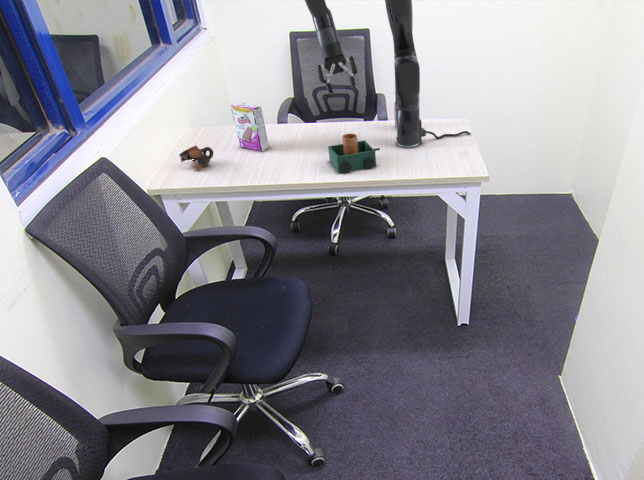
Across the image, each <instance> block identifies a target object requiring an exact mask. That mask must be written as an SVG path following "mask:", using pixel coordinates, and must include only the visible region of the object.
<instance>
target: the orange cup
mask: <svg viewBox="0 0 644 480" xmlns="http://www.w3.org/2000/svg"><path fill="white" fill-rule="evenodd" d="M341 141H342V144H343V150H344V155H348V154H354V153H359V151H358V141H359V139H358V135H357V134H356V133H344V134H343V135H342V136H341Z"/></svg>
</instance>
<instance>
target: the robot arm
mask: <svg viewBox="0 0 644 480" xmlns="http://www.w3.org/2000/svg"><path fill="white" fill-rule="evenodd" d="M304 3H305V5H306V7H307V9H308V11H309V13H310V16H311V19H312V22H313V25H314V30H315V33H316V38H317V44H318V46H319V49H320V52H321V53H320V54H321V57H322V60H323V64H316V72H317V76H318V79H319V83H320V84H325V85H326V89H327V92H328V93H329V94H330V95H334V90H333V87H332V83H331V80H332V77H333V75H337V74H341V73H344V74H346V75H347V76H348V79H349V83H350V87H351V89H355V88H356V80H355V76H356V75H357V74H358V68H357V66H356V62H355V58H354V56H352V55H349V56H348V57H345V55H344V51H343V48H342V44H341V41H340V37H339V33H338V30H337V28H336V25H335V21H334V17H333V14H332V11H331V9H330V8H329V7H328V5H327V3H326V0H304ZM384 3H385V11H386V15H387V20H388V24H389V28H390V32H391V35H392V43H393V58H394V60H393V61H394V62H393V66H394V92H395V93H394V94H395V99H396V100H395V101H396V124H397V128H396V145H397V146H398V147H400V148H405V149H410V148H411V149H412V148H416V147H418V146H421V145H422V143H423V141H422V140H423V139H422V138H423V137H426V136H427V134H428V135H429V134H430V135H432V136H433V137H434V138H435V139H436V140H440V139H442V138H444V137H458V136H461V135H463V134H467V135H471V133H470V132H469V131H467V130H463V131H461V132H458V133H443V134H441V135H440V136H437V135H436V133H435V132H433V131H430V130H426V129H425V128H424V127H423V126H422V124H423V123H422V119H420V118H421V117H420V92H421V88H420V87H421V83H420V82H421V69H420V63H419V59H418V57H417V52H416V47H415V42H414V41H415V40H414V35H413V34H414V33H413V29H414V27H413V26H414V17H413V16H414V13H413V12H414V11H413V9H414V8H413V0H384ZM347 63H348V64H349V65H350V68H351V70H350V69H349V68H348V67H346V65H347ZM324 69H325V70H326V71H327V72H326V75H325V76H326V77H324V73H323V72H324Z"/></svg>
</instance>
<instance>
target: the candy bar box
mask: <svg viewBox="0 0 644 480" xmlns="http://www.w3.org/2000/svg"><path fill="white" fill-rule="evenodd" d="M230 109H231V113H232V117H233V121H234V126H235V130H236V135H237V138H238V143H239V147H240V148H243V149H247V150H251V151H257V152H264V151H266V150H268V149H269V148H270V145H269V140H268V135H267V130H266V125H265V119H264V115H263V110H262V106H261V105H256V104H251V103H250V104H249V103H245V102H235V103H234V104H231V105H230Z"/></svg>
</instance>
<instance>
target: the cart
mask: <svg viewBox="0 0 644 480" xmlns="http://www.w3.org/2000/svg"><path fill="white" fill-rule="evenodd" d="M374 149H375V148H373V147H372V146H371V145H370V144H369V142H368V141H366V140H365V139H364V140H358V151H359V153H354V154H348V155H344V150H343V143H340V144H334V145H328V146H327V150H328V158H329V163H330V164H331V165H332V167H333V168H334V170H336V172H337V173H338V174H343V172H342V171H341V169H340V166H341V164H342V163H343V162H349V163H350V164H351V167H352V168H351V171H350V172H353V171H358V170H364V169H367V168H366V167H365V166H364V161H365V159H366V158H369V157H370V158H372V159H373V160H374V161H375V165H374V167H373V168H375V167H377V158H376V157H377V155H376V151H375V150H374Z"/></svg>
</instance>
